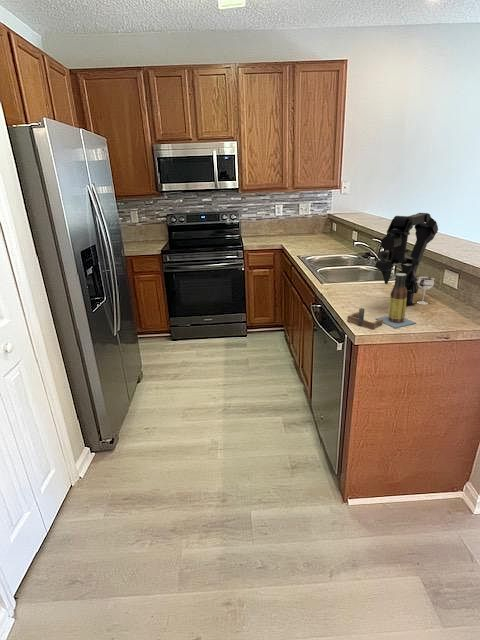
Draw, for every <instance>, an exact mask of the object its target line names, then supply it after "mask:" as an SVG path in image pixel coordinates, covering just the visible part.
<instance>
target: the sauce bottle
mask: <svg viewBox="0 0 480 640" xmlns="http://www.w3.org/2000/svg"><path fill="white" fill-rule="evenodd" d="M394 278H395V279H394V285H393V287H392V290H391V291H390V297H389V305H388V306H389V307H388V316H389V320H390V321H392V322H403V321H404V318H406V309H407V308H406V307H407V306H406V301H407V288H406V287H405V279H406V274H404V273H399V272H397V273H395V275H394Z"/></svg>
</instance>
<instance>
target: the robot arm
mask: <svg viewBox="0 0 480 640" xmlns="http://www.w3.org/2000/svg"><path fill="white" fill-rule="evenodd" d="M413 227H414V229H415V237H416V241H415V242H414V245H413V248H412V251H411V253H410V256H406V254H407V253H409V249H407V246H408V245H407V244H408V238H409V236H410V234H411V233H410V231H411V230H412V229H413ZM438 231H439V227H438V223H437V221H436V220H435V219H433V218H432V217H431V214H430V213H428V212H418V213H415V214H412V215H395V216H394V217H393V218H392V219H391V221H390V224H389V226H388V228H387V230H386V236H383V238H382V239H381V241H380V246H381V248H382V249H383V250H380V251H378V252H377V259H379V260H376V262H375V266H374V267H375V269H377V270H379V271H380V272H381V274H382V277H383V281H384V284H385V285H388V284H389V281H390V278H391V275H392V272H393V269H392V268H393V266H400V268H401V270H399V271H398V273H404V274H406V279H405V287H406V288H407V301H406V307H409V306H413V305H415V304H416V303H415V302H413V301H414V294H418V291H419V289H420V287H419V285H418V279H417V278H418V277H417V271H418V268H419V265H420V263H421V261H422V257H423V255H424V253H425V250H426V248H427V245H428V243H430V242H431V241H432V240H434V238H435V236H436V235H437V233H438ZM384 250H385V251H388V252H385V251H384Z"/></svg>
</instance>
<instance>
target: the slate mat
mask: <svg viewBox="0 0 480 640" xmlns="http://www.w3.org/2000/svg"><path fill="white" fill-rule="evenodd" d="M379 319H383V324H384V325H387V326H389V327H390V328H393V329H399V328H404V327H408V326H412V325H416V324H417V322H415V321H413V320H411V319H408V318H406V317H404V321H403V322H392V321H390V320H389V315H385V316H381V317H376V318H375V321H377V320H379Z"/></svg>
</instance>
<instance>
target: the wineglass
mask: <svg viewBox="0 0 480 640" xmlns="http://www.w3.org/2000/svg"><path fill="white" fill-rule="evenodd" d="M434 280H435V278H434V277H431V276H427V275H425V276H424V275H422V276H419V277H418V279H417V285H418V287H419V289H420V288H421V289H422V291H423V293H422V299H421V300H420V301H417V302H416V303H417V304H419V305H425V306H426V305H428V304H429V303H428V302H427V301H424V299H425V294H426V291H427V290H429V289H431V288H432V287H433V286H434V285H435V281H434Z"/></svg>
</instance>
